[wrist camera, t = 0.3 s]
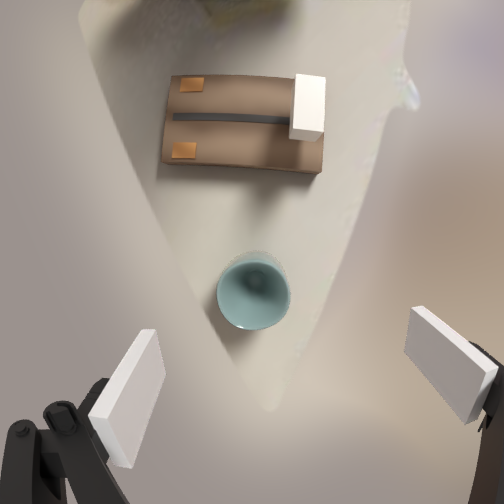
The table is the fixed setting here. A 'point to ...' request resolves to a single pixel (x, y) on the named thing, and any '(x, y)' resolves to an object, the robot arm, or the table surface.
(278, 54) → the table surface
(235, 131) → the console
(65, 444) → the robot arm
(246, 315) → the cup
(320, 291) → the table surface
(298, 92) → the fader knob
